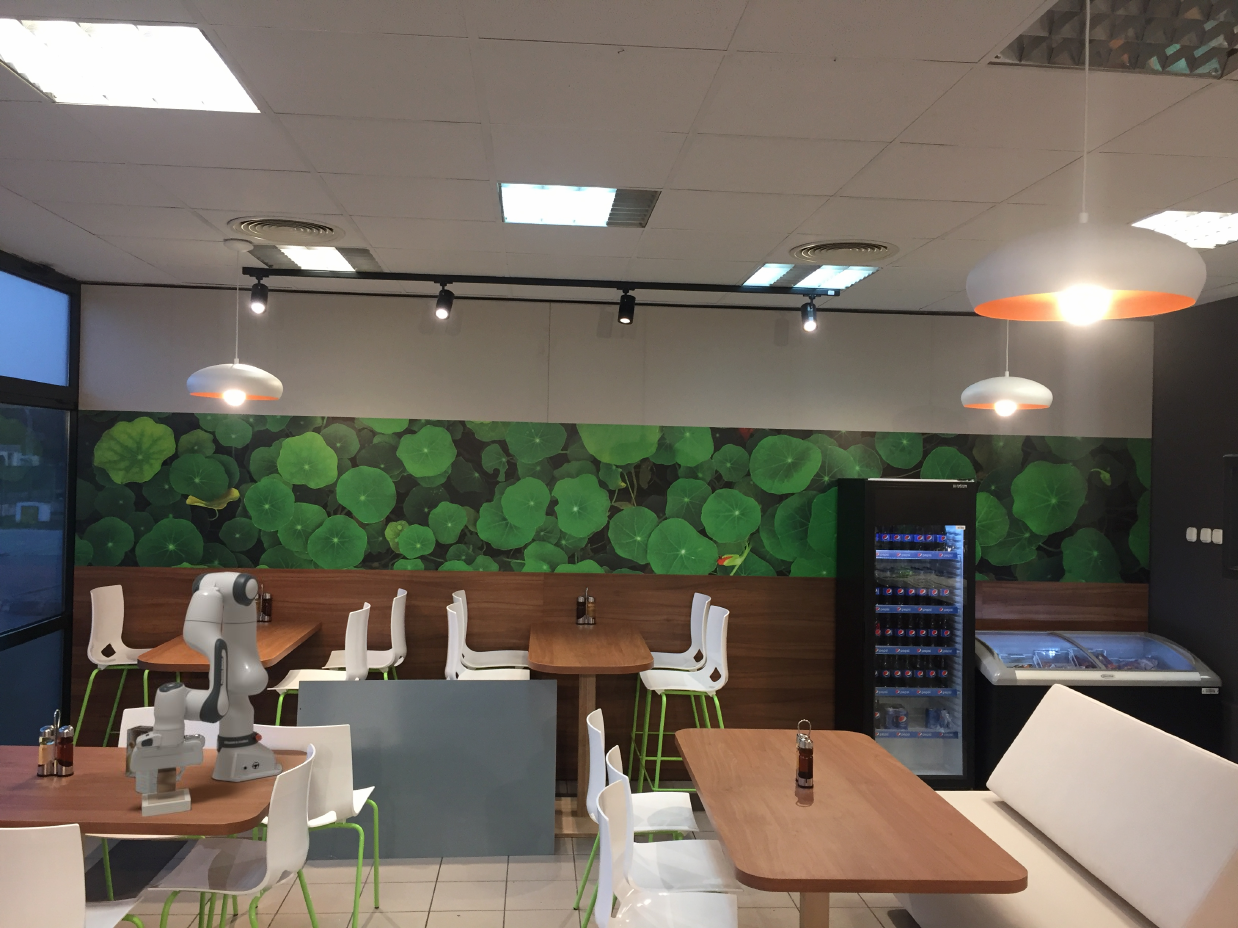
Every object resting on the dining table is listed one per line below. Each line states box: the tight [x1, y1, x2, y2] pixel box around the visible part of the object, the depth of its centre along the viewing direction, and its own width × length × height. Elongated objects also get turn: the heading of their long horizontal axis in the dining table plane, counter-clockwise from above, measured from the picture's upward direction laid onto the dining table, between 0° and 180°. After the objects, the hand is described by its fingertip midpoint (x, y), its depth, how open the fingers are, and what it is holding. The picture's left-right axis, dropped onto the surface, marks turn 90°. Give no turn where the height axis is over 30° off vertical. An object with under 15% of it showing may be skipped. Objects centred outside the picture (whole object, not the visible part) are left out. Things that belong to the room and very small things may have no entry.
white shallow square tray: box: [141, 788, 192, 818], centre depth 269 cm, size 13×13×3 cm
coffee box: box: [125, 724, 154, 778], centre depth 301 cm, size 9×6×16 cm
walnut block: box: [157, 767, 177, 793], centre depth 269 cm, size 5×5×6 cm
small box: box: [135, 769, 158, 795], centre depth 283 cm, size 8×6×10 cm
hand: (166, 782), depth 269 cm, fingers closed on walnut block, 5 cm apart
